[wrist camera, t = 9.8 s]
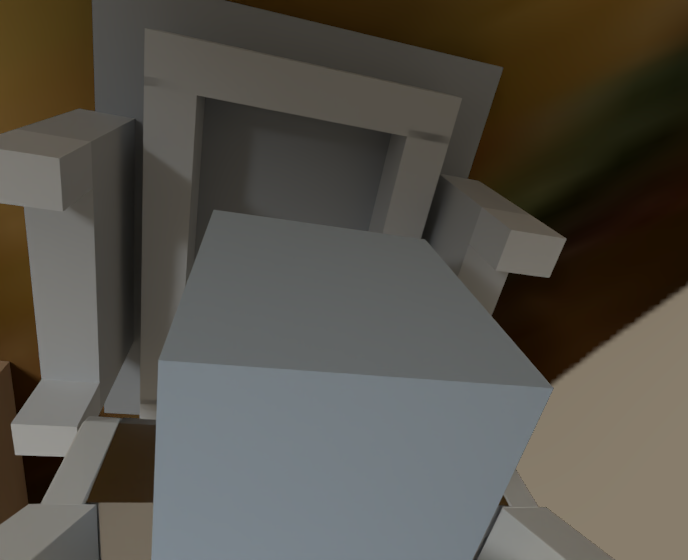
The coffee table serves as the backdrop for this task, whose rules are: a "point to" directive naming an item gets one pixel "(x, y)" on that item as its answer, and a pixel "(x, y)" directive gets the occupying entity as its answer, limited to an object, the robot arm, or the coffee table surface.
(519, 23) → the coffee table surface
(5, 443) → the tan cardboard carton
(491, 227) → the jig
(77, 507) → the robot arm
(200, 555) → the pale grey upright block
